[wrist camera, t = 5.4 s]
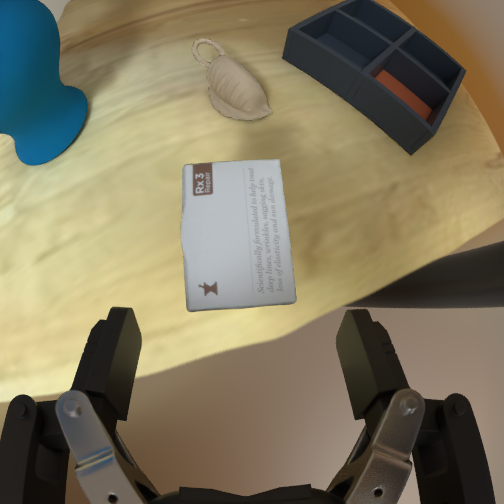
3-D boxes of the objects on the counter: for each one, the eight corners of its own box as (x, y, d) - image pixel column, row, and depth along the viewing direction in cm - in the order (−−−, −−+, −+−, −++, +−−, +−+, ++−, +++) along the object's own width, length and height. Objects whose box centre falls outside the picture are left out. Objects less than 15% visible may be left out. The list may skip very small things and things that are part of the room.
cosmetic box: (268, 304, 23) (308, 310, 11) (209, 309, 22) (185, 320, 10) (261, 226, 23) (290, 154, 12) (204, 230, 23) (179, 161, 11)
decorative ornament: (237, 134, 25) (239, 97, 19) (190, 80, 25) (184, 43, 20) (273, 114, 25) (282, 77, 20) (223, 64, 26) (223, 27, 21)
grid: (449, 88, 29) (466, 70, 24) (410, 155, 26) (434, 135, 21) (352, 15, 29) (361, -7, 25) (281, 58, 27) (288, 28, 22)
